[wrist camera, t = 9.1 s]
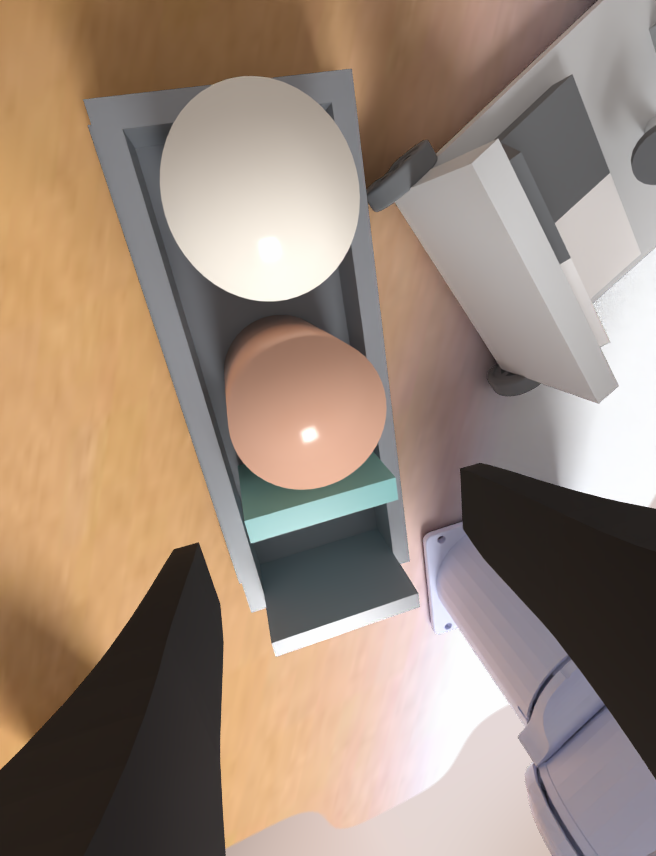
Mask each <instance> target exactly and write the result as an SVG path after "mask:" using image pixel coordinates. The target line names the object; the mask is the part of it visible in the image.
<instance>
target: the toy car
mask: <svg viewBox="0 0 656 856" xmlns="http://www.w3.org/2000/svg"><path fill="white" fill-rule="evenodd" d="M366 193H367V202H368V203H369V205H370V206H371V208H372V209H373V211H375V212H378V211H381V210H383V209H385V208H387V207H388V206H390V205H391V204H393V203H394V202H395V204H396V205H397V207H398V208H399V210H400V211H401V213H402V215H403V216H404V218H405V219H406V221H407V222H408V224H409V226H410V227H411V229H412V230H413V232H414V233H415V235H416V236H417V238H418V240H419V241H420V243H421V244H422V246H423V247H424V249H425V251H426V252H427V254H428V255H429V257H430V258H431V260H432V261H433V263H434V265H435V266H436V268H437V269H438V271H439V272H440V274H441V275H442V277H443V279H444V280H445V282H446V283H447V285H448V286H449V288H450V290H451V291H452V293H453V294H454V296H455V297H456V299H457V300H458V302H459V304H460V305H461V307H462V308H463V310H464V311H465V313H466V315H467V316H468V318H469V319H470V321H471V322H472V324H473V325H474V327H475V329H476V330H477V332H478V333H479V335H480V336H481V338H482V339H483V341H484V343H485V344H486V346H487V347H488V349H489V350H490V352H491V354H492V355H493V357H494V358H495V360H496V361H497V363H498V364H496V365H495V366H494V367H493V368H491V369H490V370H489V371H488V373H487V380H488V382H489V384H490V385H491V387H492V388H493V390H494V391H495V392H496V393H497V394H499V395H502V396H516V395H520V394H523V393H526V392H528V391H530V390H532V389H534V388H535V387H537V386H538V385H540V384H541V383H542V384H545V385H547V386H550V387H553V388H556V389H559V390H562V391H564V392H567V393H570V394H573V395H576V396H578V397H581V398H584V399H587V400H590V401H593V402H595V403H598V404H599V403H600V402H601V401H602V400H603V399H604V398H606V397H607V396H608V395H609V394H610V393H611V392H612V391H614V390H615V389H616V388H617V387H618V386H619V385H618V383H617V381H616V379H615V377H614V375H613V373H612V371H611V369H610V367H609V365H608V362H607V360H606V358H605V356H604V354H603V352H602V350H601V348H600V347H602V346H604V345H606V344H608V343H610V340H609V338H608V336H607V334H606V332H605V330H604V327H603V325H602V323H601V321H600V319H599V317H598V315H597V312H596V310H595V308H594V306H593V303H594V302H595V301H596V300H597V299H598V298H600V297H601V296H602V295H603V294H604V293H605V292H606V291H607V290H609V289H610V288H611V287H612V286H613V285H614V284H615V283H616V282H617V281H619V280H620V279H621V278H622V277H623V276H624V275H625V274H626V273H628V272H629V271H630V270H631V269H632V268H633V267H634V266H635V265H637V264H638V263H639V262H640V261H641V260H642V259H643V258H644V257H646V256H647V255H648V254H649V253H650V252H651V251H652V250H653V249H655V248H656V0H598V1H597V2H596V3H595V4H594V5H592V6H591V7H590V8H589V9H588V10H587V11H586V12H585V13H584V14H583V15H582V16H581V17H580V18H579V19H578V20H577V21H576V22H574V23H573V24H572V25H571V26H570V27H569V28H568V29H567V30H566V31H565V32H564V33H563V34H562V35H561V36H560V37H559V38H558V39H557V40H555V41H554V42H553V43H552V44H551V45H550V46H549V47H548V48H547V49H546V50H545V51H544V52H543V53H542V54H541V55H540V56H539V57H537V58H536V59H535V60H534V61H533V62H532V63H531V64H530V65H529V66H528V67H527V68H526V69H525V70H524V71H523V72H522V73H521V74H520V75H518V76H517V77H516V78H515V79H514V80H513V81H512V82H511V83H510V84H509V85H508V86H507V87H506V88H505V89H504V90H503V91H502V92H500V93H499V94H498V95H497V96H496V97H495V98H494V99H493V100H492V101H491V102H490V103H489V104H488V105H487V106H486V107H485V108H484V109H483V110H481V111H480V112H479V113H478V114H477V115H476V116H475V117H474V118H473V119H472V120H471V121H470V122H469V123H468V124H467V125H466V126H465V127H463V128H462V129H461V130H460V131H459V132H458V133H457V134H456V135H455V136H454V137H453V138H452V139H451V140H450V141H449V142H448V143H447V144H445V145H444V146H443V147H442V148H441V149H440V150H439V151H438V152H437V153H435V151H434V150H433V148H432V146H431V144H430V142H429V141H428V140H423V141H421V142H420V143H418V144H417V145H415V146H414V147H412V148H411V149H410V150H409V151H407V152H406V153H405V154H404V155H402V156H401V157H400V158H399V159H398V160H397V161H396V162H395V163H394V164H393V165H392V166H391V168H390V169H389V171H388V172H387V173H386V174H385V175H384V176H383V177H382V178H380V179H378V180H376V181H375V182H374V183H372V184H371V185H370V186H369V187H368V188H367V190H366Z"/></svg>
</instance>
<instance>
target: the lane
mask: <svg viewBox="0 0 656 856" xmlns="http://www.w3.org/2000/svg"><path fill="white" fill-rule="evenodd" d="M272 79H275V80H279V81H282V82H285V83H287V84H289V85H291V86H294V87H296V88H298V89H299V90H301V91H302V92H304V93H305V94H307V95H309V96H310V97H311V98H312V99H313V100H315V101H316V102H317V103H318V104H319V105H320V106H321V107H322V108H323V109H324V110H325V111H326V112H327V113H328V114H329V115H330V116H331V118H332V119H333V120H334V122H335V123H336V125H337V126H338V127H339V129H340V131H341V132H342V134H343V136H344V138H345V140H346V141H347V144H348V146H349V148H350V151H351V153H352V156H353V159H354V163H355V166H356V170H357V175H358V181H359V191H360V207H359V216H358V223H357V227H356V231H355V234H354V238H353V240H352V243H351V245H350V248H349V250H348V252H347V253H346V255H345V257H344V259H343V260H342V262H341V263H340V265H339V266H338V267H337V269H336V270H335V271H334V272H333V273H332V274H331V275H330V276H329V277H328V278H327V279H326V280H325V281H324V282H322V283H321V284H320V285H319V286H317V287H316V288H314V289H312V290H311V291H309V292H307V293H305V294H302V295H300V296H298V297H294V298H291V299H287V300H281V301H257V300H250V299H246V298H243V297H239V296H237V295H234V294H232V293H229V292H227V291H225V290H223V289H222V288H220V287H218V286H217V285H215V284H214V283H212V282H211V281H210V280H208V279H207V278H206V277H204V276H203V275H202V274H201V273H200V272H199V271H198V270H197V269H196V268H195V267H194V266H193V265H192V264H191V262H190V261H189V260H188V259H187V258H186V256H185V255H184V254H183V252H182V250H181V249H180V247H179V246H178V244H177V243H176V240H175V238H174V236H173V234H172V232H171V230H170V228H169V225H168V222H167V219H166V217H165V213H164V209H163V204H162V200H161V191H160V165H161V158H162V152H163V149H164V145H165V142H166V138H167V136H168V134H169V131H170V129H171V127H172V125H173V123H174V121H175V120H176V118H177V117H178V115H179V113H180V112H181V111H182V110H183V108H184V107H185V106H186V105H187V104H188V103H189V102H190V100H192V99H193V98H194V97H195V96H196V95H198V94H199V93H200V92H201V91H203V90H205V89H206V88H208V87H210V86H211V85H205V86H196V87H188V88H179V89H170V90H161V91H153V92H144V93H135V94H127V95H118V96H109V97H100V98H92V99H83V101H84V104H85V107H86V110H87V113H88V116H89V119H90V122H91V125H88V128H89V131H90V134H91V137H92V140H93V143H94V146H95V149H96V152H97V155H98V158H99V161H100V164H101V167H102V170H103V173H104V176H105V179H106V182H107V185H108V188H109V191H110V194H111V197H112V200H113V203H114V206H115V209H116V212H117V215H118V218H119V221H120V224H121V227H122V230H123V233H124V236H125V239H126V242H127V246H128V249H129V252H130V255H131V258H132V261H133V264H134V267H135V270H136V273H137V276H138V279H139V282H140V285H141V288H142V291H143V294H144V297H145V300H146V303H147V306H148V309H149V312H150V315H151V318H152V321H153V324H154V327H155V330H156V333H157V336H158V339H159V342H160V345H161V348H162V351H163V354H164V357H165V360H166V363H167V366H168V369H169V372H170V375H171V378H172V381H173V384H174V387H175V390H176V394H177V397H178V400H179V403H180V406H181V409H182V412H183V415H184V418H185V421H186V424H187V427H188V430H189V433H190V436H191V439H192V442H193V445H194V448H195V451H196V454H197V457H198V460H199V463H200V466H201V469H202V472H203V475H204V478H205V481H206V484H207V487H208V490H209V493H210V496H211V499H212V502H213V505H214V508H215V511H216V514H217V517H218V520H219V523H220V526H221V529H222V532H223V535H224V538H225V541H226V545H227V548H228V551H229V554H230V557H231V560H232V563H233V566H234V569H235V572H236V575H237V578H238V581H239V584H240V583H242V585H243V588H244V591H245V594H246V597H247V601H248V604H249V607H250V610H251V613H252V612H255V611H258V610H261V609H264V608H266V610H267V616H268V623H269V629H270V636H271V642H272V646H273V649H274V652H275V656H276V657H277V656H280V655H283V654H286V653H288V652H291V651H294V650H297V649H300V648H303V647H306V646H309V645H311V644H314V643H317V642H320V641H323V640H326V639H329V638H332V637H335V636H337V635H340V634H343V633H346V632H349V631H352V630H355V629H358V628H361V627H363V626H366V625H369V624H372V623H375V622H378V621H381V620H384V619H386V618H389V617H392V616H395V615H398V614H401V613H404V612H407V611H410V610H412V609H415V608H418V607H420V604H419V595H418V592H417V590H416V589H415V587H414V586H413V584H412V582H411V581H410V579H409V578H408V576H407V574H406V573H405V571H404V570H403V568H402V566H401V565H400V564H402V563H406V562H409V561H410V559H409V550H408V542H407V533H406V525H405V516H404V508H403V499H402V491H401V482H400V474H399V465H398V457H397V448H396V440H395V431H394V423H393V414H392V406H391V397H390V389H389V380H388V372H387V363H386V355H385V346H384V338H383V329H382V321H381V312H380V304H379V295H378V287H377V278H376V270H375V261H374V253H373V244H372V236H371V227H370V219H369V210H368V202H367V193H366V185H365V176H364V168H363V159H362V151H361V142H360V134H359V125H358V117H357V108H356V100H355V91H354V83H353V74H352V69H344V70H336V71H327V72H318V73H310V74H301V75H292V76H283V77H275V78H272ZM273 315H290V316H295V317H299V318H302V319H304V320H306V321H308V322H310V323H312V324H314V325H315V326H317V327H319V328H320V329H322V330H324V331H326V332H327V333H329V334H331V335H333V336H334V337H336V338H338V339H340V340H341V341H343V342H345V343H346V344H348V345H350V346H351V347H353V348H355V349H356V350H358V351H359V352H360V353H361V354H363V355H364V356H365V357H366V358H367V359H368V360H369V361H370V363H371V364H372V365H373V367H374V368H375V370H376V371H377V373H378V375H379V377H380V379H381V381H382V384H383V387H384V390H385V396H386V407H387V410H386V420H385V425H384V429H383V432H382V435H381V437H380V439H379V442H378V444H377V446H376V447H375V449H374V450H373V452H374V453H375V454H376V455H377V456H378V458H379V459H380V460H381V461H382V462H383V463H384V465H385V466H386V467H387V468H388V469H389V470H390V472H391V473H392V474H393V475H394V476H395V477H396V485H397V493H398V500H395V501H392V502H389V503H385V504H382V505H379V506H375V507H372V508H368V509H365V510H362V511H358V512H355V513H352V514H348V515H345V516H342V517H338V518H335V519H332V520H328V521H325V522H322V523H318V524H315V525H312V526H308V527H305V528H301V529H298V530H295V531H291V532H288V533H285V534H281V535H278V536H275V537H271V538H268V539H265V540H261V541H258V542H255V543H251V542H250V539H249V535H248V532H247V529H246V525H245V522H244V515H243V506H242V498H241V490H240V481H239V473H238V466H239V465H242V464H244V463H243V461H242V460H241V459H240V457H239V456H238V454H237V452H236V450H235V448H234V446H233V443H232V441H231V438H230V433H229V428H228V418H227V406H226V395H225V384H224V363H225V358H226V355H227V352H228V349H229V347H230V345H231V343H232V342H233V340H234V339H235V338H236V336H237V335H238V334H239V333H240V332H241V331H242V330H243V329H244V328H245V327H247V326H248V325H249V324H251V323H253V322H255V321H257V320H259V319H261V318H264V317H268V316H273Z"/></svg>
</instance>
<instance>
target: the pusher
mask: <svg viewBox="0 0 656 856" xmlns="http://www.w3.org/2000/svg"><path fill="white" fill-rule="evenodd" d="M238 473H239V481H240V490H241V498H242V506H243V515H244V522H245V525H246V529H247V532H248V535H249V539H250V542H251V543H255V542H258V541H261V540H265V539H268V538H271V537H275V536H278V535H281V534H285V533H288V532H291V531H295V530H298V529H301V528H305V527H308V526H312V525H315V524H318V523H322V522H325V521H328V520H332V519H335V518H338V517H342V516H345V515H348V514H352V513H355V512H358V511H362V510H365V509H368V508H372V507H375V506H379V505H382V504H385V503H389V502H392V501H395V500H398V493H397V485H396V477H395V476H394V475H393V474H392V473H391V472H390V470H389V469H388V468H387V467H386V466H385V465H384V463H383V462H382V461H381V460H380V459H379V458H378V456H377V455H376V454H375V453H374V452H372V453H371V455H370V456H369V457H368V459H367V460H366V461H365V462H364V463H363V464H362V465H361V466H360V467H359V468H358V469H357V470H355V471H354V472H353V473H351V474H350V475H348V476H347V477H345V478H344V479H342V480H340V481H338V482H335V483H333V484H330V485H327V486H324V487H320V488H315V489H306V490H298V489H289V488H283V487H280V486H276V485H274V484H271V483H269V482H267V481H265V480H263V479H262V478H260V477H258V476H257V475H256V474H254V473H253V472H252V471H251V470H250V469H249V468H248V467H247V466H246V465H245V464H242V465H239V466H238Z"/></svg>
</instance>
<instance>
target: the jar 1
mask: <svg viewBox="0 0 656 856" xmlns="http://www.w3.org/2000/svg"><path fill="white" fill-rule="evenodd" d="M160 191H161V200H162V204H163V209H164V213H165V217H166V219H167V222H168V225H169V228H170V230H171V232H172V234H173V236H174V238H175V240H176V243H177V244H178V246H179V247H180V249H181V250H182V252H183V254H184V255H185V256H186V258H187V259H188V260H189V261H190V262H191V264H192V265H193V266H194V267H195V268H196V269H197V270H198V271H199V272H200V273H201V274H202V275H203V276H204V277H206V278H207V279H208V280H210V281H211V282H212V283H214V284H215V285H217V286H218V287H220V288H222V289H223V290H225V291H227V292H229V293H232V294H234V295H237V296H239V297H243V298H246V299H250V300H257V301H281V300H287V299H291V298H294V297H298V296H300V295H302V294H305V293H307V292H309V291H311V290H312V289H314V288H316V287H317V286H319V285H320V284H321V283H322V282H324V281H325V280H326V279H327V278H328V277H329V276H330V275H331V274H332V273H333V272H334V271H335V270H336V269H337V267H338V266H339V265H340V263H341V262H342V260H343V259H344V257H345V255H346V253H347V252H348V250H349V248H350V245H351V243H352V240H353V238H354V234H355V231H356V227H357V223H358V216H359V207H360V191H359V181H358V175H357V170H356V166H355V163H354V159H353V156H352V153H351V151H350V148H349V146H348V144H347V141H346V140H345V138H344V136H343V134H342V132H341V131H340V129H339V127H338V126H337V125H336V123H335V122H334V120H333V119H332V118H331V116H330V115H329V114H328V113H327V112H326V111H325V110H324V109H323V108H322V107H321V106H320V105H319V104H318V103H317V102H316V101H315V100H313V99H312V98H311V97H310V96H309V95H307V94H305V93H304V92H302V91H301V90H299V89H298V88H296V87H294V86H291V85H289V84H287V83H285V82H282V81H279V80H275V79H272V78H267V77H260V76H240V77H235V78H230V79H226V80H223V81H221V82H218V83H215V84H213V85H211V86H210V87H208V88H206V89H205V90H203V91H201V92H200V93H199V94H198V95H196V96H195V97H194V98H193V99H192V100H190V102H189V103H188V104H187V105H186V106H185V107H184V108H183V110H182V111H181V112H180V113H179V115H178V117H177V118H176V120H175V121H174V123H173V125H172V127H171V129H170V131H169V134H168V136H167V138H166V142H165V145H164V149H163V152H162V158H161V165H160Z"/></svg>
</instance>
